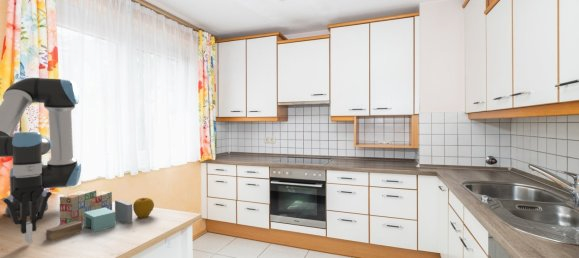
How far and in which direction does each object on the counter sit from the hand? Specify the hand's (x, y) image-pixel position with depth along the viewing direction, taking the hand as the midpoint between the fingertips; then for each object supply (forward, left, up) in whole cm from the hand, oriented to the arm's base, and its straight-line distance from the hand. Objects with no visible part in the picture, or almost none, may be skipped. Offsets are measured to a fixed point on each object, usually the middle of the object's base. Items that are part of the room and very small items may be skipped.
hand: (28, 240), depth 99 cm
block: (0, +22, -1) cm, 22 cm away
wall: (0, +32, -1) cm, 32 cm away
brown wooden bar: (0, +10, -2) cm, 11 cm away
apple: (+3, +39, -2) cm, 40 cm away
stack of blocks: (-17, +24, -2) cm, 30 cm away
